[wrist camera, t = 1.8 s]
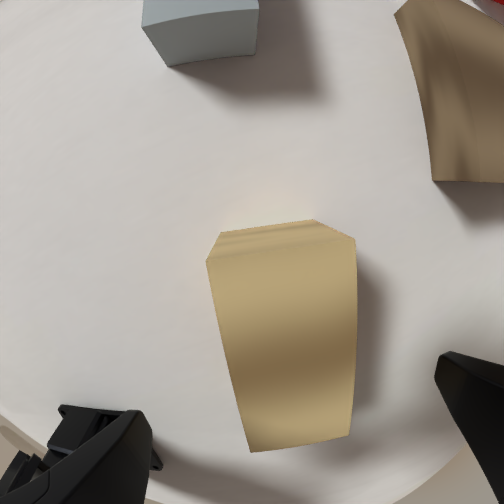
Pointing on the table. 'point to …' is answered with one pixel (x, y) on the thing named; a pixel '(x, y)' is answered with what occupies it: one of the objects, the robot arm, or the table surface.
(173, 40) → the grey block
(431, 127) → the walnut block
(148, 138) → the table surface
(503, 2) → the puzzle toy
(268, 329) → the oak block
